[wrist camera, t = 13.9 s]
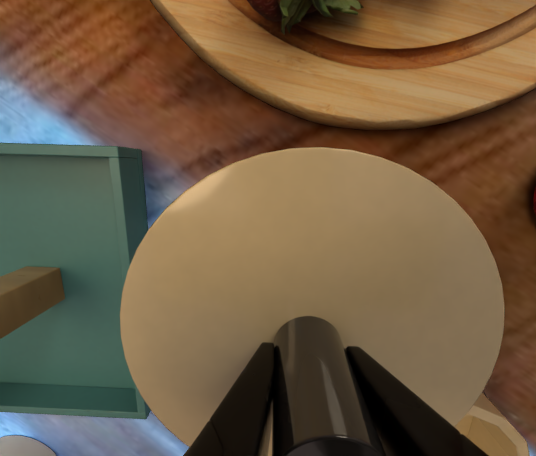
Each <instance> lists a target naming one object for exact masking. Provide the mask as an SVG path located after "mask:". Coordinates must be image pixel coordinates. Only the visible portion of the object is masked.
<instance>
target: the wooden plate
mask: <svg viewBox="0 0 536 456" xmlns="http://www.w3.org/2000/svg"><path fill="white" fill-rule="evenodd" d="M150 1H151V2H152V4H153V5H154V7H155V8H156V10H157V11H158V12H159V13H160V14H161V16H162V17H163V18H164V19H165V20H166V21H167V23H168V24H169V25H170V26H171V27H172V28H173V30H174V31H175V32H176V33H177V34H178V36H179V37H180V38H181V39H182V40H183V41H184V42H185V43H186V44H187V45H188V46H189V47H190V48H191V49H192V50H193V51H194V52H195V53H196V54H197V55H198V56H199V57H200V58H201V59H202V60H203V61H204V62H206V63H207V64H208V65H209V66H210V67H212V68H213V69H214V70H215V71H217V72H218V73H219V74H220V75H221V76H223V77H224V78H226V79H227V80H229V81H230V82H232V83H233V84H235V85H236V86H238V87H239V88H240V89H242V90H244V91H246V92H247V93H249V94H251V95H253V96H254V97H256V98H258V99H260V100H262V101H263V102H265V103H267V104H269V105H271V106H273V107H275V108H277V109H280V110H282V111H285V112H287V113H290V114H292V115H295V116H297V117H300V118H302V119H305V120H308V121H311V122H315V123H319V124H324V125H329V126H336V127H343V128H351V129H361V130H394V129H413V128H421V127H426V126H431V125H437V124H442V123H447V122H450V121H454V120H458V119H461V118H465V117H469V116H472V115H475V114H478V113H481V112H484V111H487V110H490V109H493V108H495V107H498V106H500V105H502V104H505V103H507V102H509V101H512V100H514V99H516V98H518V97H520V96H522V95H524V94H526V93H528V92H530V91H532V90H533V89H535V88H536V0H150Z"/></svg>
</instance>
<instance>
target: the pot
mask: <svg viewBox="0 0 536 456" xmlns="http://www.w3.org/2000/svg"><path fill="white" fill-rule="evenodd" d="M455 428H456V429H457V430H459V432H460V434H463V435H465V436H466V437H467V438H468V439H469V440H471V441H472V442H473V443H474V444H475V445H477V446H478V447H479V448H480V449H481V450H483V451H484V452H485V453H486V454H487V455H489V456H529V451H528V445H527V442H526V440H525V439H524V438H523V437H522V436H521V435H520V434H519V432H518V431H517V430H516V429H515V428H514V427H513V426H512V425H511V424H510V423H509V421H508V420H507V419H506V418H505V417H504V416H503V415H502V414H501V413H500V412H499V411H498V409H497V408H496V407H495V406H494V405H493V404H492V403H491V402H490V401H489V400H488V399H487V398H486V396H485V395H484V394H483V393H481V395H480V396H479V398H478V399H477V400H476V402H475V403H474V405H473V406H472V407H471V409H470V410H469V412H468V413H467V414H466V415H465V416H464V417H463V418H462V419H461V420H460V421H459V423H458V424H457V425H456V426H455Z"/></svg>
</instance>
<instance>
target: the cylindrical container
mask: <svg viewBox="0 0 536 456" xmlns="http://www.w3.org/2000/svg"><path fill="white" fill-rule="evenodd" d="M0 456H56V454H55V453H54V452H53V451H52V450H51V449H50V448H49V447H47V446H46V445H44V444H43V443H41V442H39V441H37V440H35V439H32V438H29V437H24V436H16V435H12V436H5V437H1V438H0Z"/></svg>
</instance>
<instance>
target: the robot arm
mask: <svg viewBox="0 0 536 456" xmlns="http://www.w3.org/2000/svg"><path fill="white" fill-rule="evenodd" d="M346 352H347V355H348V358H349V360H350V363H351V365H352V368H353V371H354V373H355V376H356V378H357V381H358V383H359V386H360V389H361V391H362V394H363V396H364V399H365V402H366V404H367V407H368V409H369V412H370V414H371V417H372V420H373V422H374V425H375V427H376V430H377V433H378V435H379V438H380V440H381V443H382V445H383V448H384V451H385V453H386V456H489V455H487V454H486V453H485V452H484V451H483V450H481V449H480V448H479V447H478V446H477V445H475V444H474V443H473V442H472V441H471V440H469V439H468V438H467V437H466V436H465V435H463V434H460V432H459V430H457V429H456V428H455V427H454V426H453V425H451V424H450V423H449V422H448V421H447V420H446V419H444V418H443V417H442V416H441V415H440V414H438V413H437V412H436V411H435V410H434V409H433V408H431V407H430V406H429V405H428V404H427V403H425V402H424V401H423V400H422V399H421V398H419V397H418V396H417V395H416V394H415V393H414V392H412V391H411V390H410V389H409V388H408V387H406V386H405V385H404V384H403V383H402V382H401V381H399V380H398V379H397V378H396V377H395V376H393V375H392V374H391V373H390V372H389V371H388V370H386V369H385V368H384V367H383V366H382V365H380V364H379V363H378V362H377V361H376V360H374V359H373V358H372V357H371V356H370V355H369V354H367V353H366V352H365V351H364V350H363V349H361V348H360V347H358V346H347V347H346ZM273 385H274V343H270V342H263V343H261V345H260V346H259V348H258V349H257V350H256V352H255V353H254V355H253V356H252V358H251V359H250V361H249V362H248V364H247V365H246V367H245V368H244V369H243V371H242V372H241V374H240V375H239V377H238V378H237V380H236V381H235V383H234V384H233V386H232V387H231V389H230V390H229V391H228V393H227V394H226V396H225V397H224V399H223V400H222V402H221V403H220V405H219V406H218V408H217V409H216V410H215V412H214V413H213V415H212V416H211V418H210V421H208V422H207V423H206V425H205V426H204V428H203V429H202V431H201V432H200V434H199V435H198V436H197V438H196V439H195V441H194V442H193V443H192V445H191V446H190V447H189V449H188V450H187V452H186V453H185V454H184V455H183V456H268V450H269V442H270V434H271V425H272V405H273Z"/></svg>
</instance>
